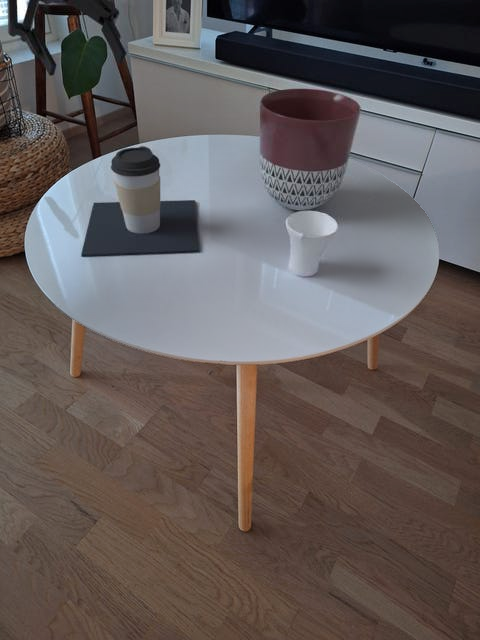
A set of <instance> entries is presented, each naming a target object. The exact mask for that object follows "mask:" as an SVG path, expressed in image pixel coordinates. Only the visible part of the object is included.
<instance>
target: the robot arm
mask: <svg viewBox="0 0 480 640" xmlns="http://www.w3.org/2000/svg"><path fill="white" fill-rule="evenodd" d="M6 1H7V32H8V33H7V34H8V35H9V36H11V37H13V38H14V37H16V36H18V37H20V40H21V42H23V43H26V45H27V46H28V48H29V50H30V52H31V54H33V55H34V56H38V57H39V59H40V61H41V63H42V65H43V66H44V68H45V70H46V72H47V73H48V76H50V77H51V76H54V75H55V72H56V70H57V69H56V68H57V63H56V61H55V60H54V58H53V56H52V54H51V52H50V50H49V48H48V46H47V45H46V43H45V41H44V39H43V37H42V36H41V33H40V32H39V30H38V28H37V27H33V24H34V21H35V16H36V15H37V14H36V13H37V10H38V7H39V3H40V2H41V3H44V5H50V4H52V3H55V4H62V3H64V4H66V5H67V6H69V7H71V6H72V7H74V8H75V9H77V10H78V11H80V12H81V13H82V14H84V15H86V16H87V17H88V18H90V19H91V20H93V21H94V22H96V23H97V24H99V25H100V26H101V29H100V31H101V33H102V34H103V37H104V38H105V40H106V42H107V44H108V46H109V48H110V50H111V52H112V54H113V55H114V57H115V59H116V61H117V63H118V64H123V62H124V60H125V58H126V56H127V52H126V50H125V47H124V46H123V44H122V42H121V39H122V36H121V33H120V31H119V29H118V27H117V25H116V23H117V20H118V17H119V15H120V10H119V9H117V7H116V6H115V5H113V3H111V1H110V0H28V4H27V7H26V11H25V14H24V17H23V21H22V23H21V22H19V18H18V16H19V15H18V14H19V13H18V0H6ZM32 27H33V28H32Z"/></svg>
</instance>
